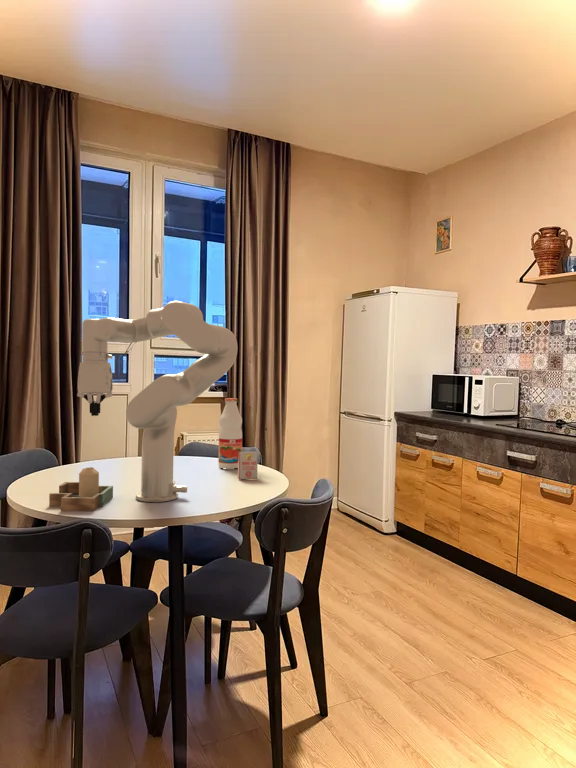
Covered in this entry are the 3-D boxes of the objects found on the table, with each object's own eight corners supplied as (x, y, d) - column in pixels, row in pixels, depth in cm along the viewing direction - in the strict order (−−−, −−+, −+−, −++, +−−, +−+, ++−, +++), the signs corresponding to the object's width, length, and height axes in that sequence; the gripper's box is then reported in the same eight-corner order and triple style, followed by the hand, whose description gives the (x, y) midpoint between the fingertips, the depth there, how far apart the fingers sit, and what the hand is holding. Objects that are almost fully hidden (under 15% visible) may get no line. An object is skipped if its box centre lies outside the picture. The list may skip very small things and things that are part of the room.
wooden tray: (117, 493, 171) (117, 482, 171) (97, 510, 150) (97, 498, 150) (65, 493, 170) (65, 481, 170) (38, 510, 150) (38, 498, 149)
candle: (96, 503, 158) (97, 469, 158) (77, 504, 157) (77, 469, 157) (100, 499, 164) (100, 466, 163) (80, 499, 163) (81, 466, 162)
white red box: (237, 478, 199) (238, 451, 198) (256, 477, 200) (256, 450, 200) (238, 480, 195) (239, 452, 195) (257, 480, 196) (257, 452, 196)
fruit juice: (240, 465, 224) (241, 397, 223) (242, 469, 215) (244, 399, 214) (217, 465, 223) (218, 397, 222) (218, 470, 213) (220, 399, 213)
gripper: (121, 358, 177) (121, 414, 178) (73, 358, 175) (73, 414, 176) (116, 358, 170) (116, 416, 170) (67, 357, 168) (67, 416, 169)
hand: (95, 415), depth 173 cm, fingers closed
